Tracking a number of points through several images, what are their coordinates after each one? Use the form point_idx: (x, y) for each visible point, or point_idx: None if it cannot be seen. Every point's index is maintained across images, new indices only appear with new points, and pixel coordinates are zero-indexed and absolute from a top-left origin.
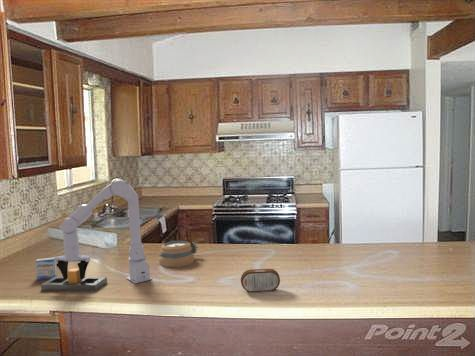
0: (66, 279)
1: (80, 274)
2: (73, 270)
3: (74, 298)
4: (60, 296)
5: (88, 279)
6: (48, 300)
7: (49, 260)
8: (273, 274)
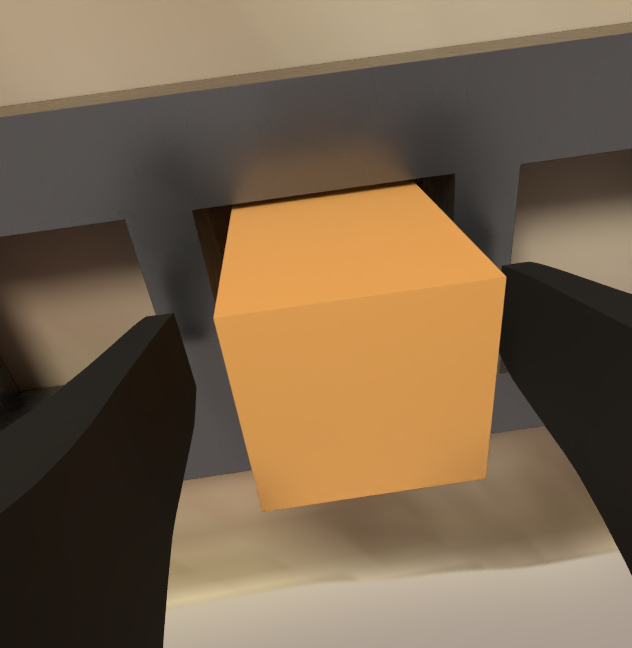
0: (77, 219)
1: (554, 419)
2: (381, 449)
3: (528, 513)
4: (361, 511)
5: (538, 155)
6: (313, 580)
7: None
8: None
